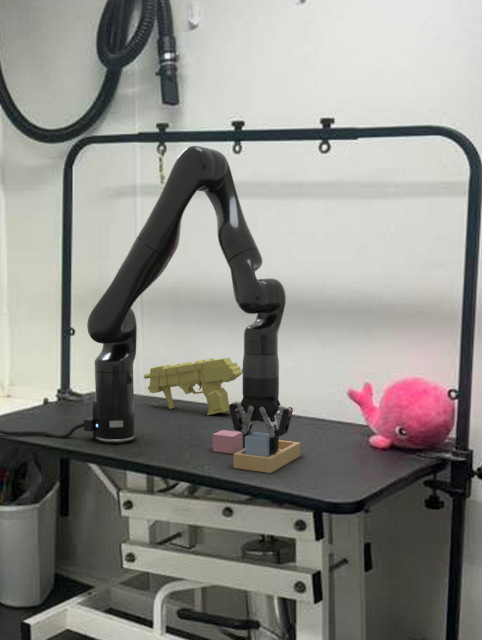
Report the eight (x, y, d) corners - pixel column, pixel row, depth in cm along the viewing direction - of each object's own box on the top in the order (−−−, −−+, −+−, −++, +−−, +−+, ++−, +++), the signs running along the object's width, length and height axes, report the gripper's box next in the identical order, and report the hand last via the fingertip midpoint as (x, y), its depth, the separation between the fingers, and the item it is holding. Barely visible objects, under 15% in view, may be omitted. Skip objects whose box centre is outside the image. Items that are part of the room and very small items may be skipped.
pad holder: (233, 467, 200) (233, 453, 200) (264, 451, 213) (264, 438, 212) (270, 473, 195) (270, 458, 195) (300, 456, 208) (300, 442, 207)
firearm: (158, 419, 268) (148, 367, 268) (249, 407, 249) (238, 352, 248) (149, 422, 265) (139, 370, 264) (241, 410, 246) (230, 354, 245)
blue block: (244, 454, 200) (244, 436, 199) (254, 449, 204) (254, 431, 203) (266, 457, 197) (266, 439, 196) (276, 452, 201) (276, 434, 200)
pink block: (212, 451, 214) (212, 434, 214) (222, 446, 218) (222, 429, 218) (232, 453, 212) (232, 436, 211) (242, 449, 216) (242, 432, 215)
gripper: (300, 373, 196) (299, 452, 199) (237, 368, 205) (237, 444, 208) (285, 379, 191) (285, 460, 193) (221, 374, 199) (222, 452, 202)
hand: (260, 451), depth 201 cm, fingers closed on blue block, 5 cm apart
